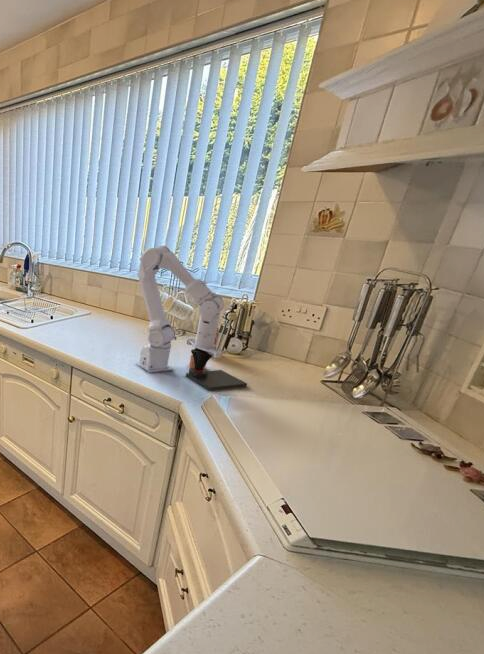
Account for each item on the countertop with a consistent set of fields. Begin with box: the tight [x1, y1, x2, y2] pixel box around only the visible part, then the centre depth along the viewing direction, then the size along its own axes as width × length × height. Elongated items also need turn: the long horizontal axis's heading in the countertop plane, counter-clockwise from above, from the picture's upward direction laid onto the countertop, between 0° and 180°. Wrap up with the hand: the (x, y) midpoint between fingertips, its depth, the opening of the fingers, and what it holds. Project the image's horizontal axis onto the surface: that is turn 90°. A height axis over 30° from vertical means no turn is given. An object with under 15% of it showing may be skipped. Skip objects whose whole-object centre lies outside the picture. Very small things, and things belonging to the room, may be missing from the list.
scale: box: [185, 367, 248, 392], centre depth 136 cm, size 14×13×3 cm
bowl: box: [188, 354, 207, 370], centre depth 146 cm, size 5×5×4 cm
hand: (198, 369), depth 138 cm, fingers closed, pressing on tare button
